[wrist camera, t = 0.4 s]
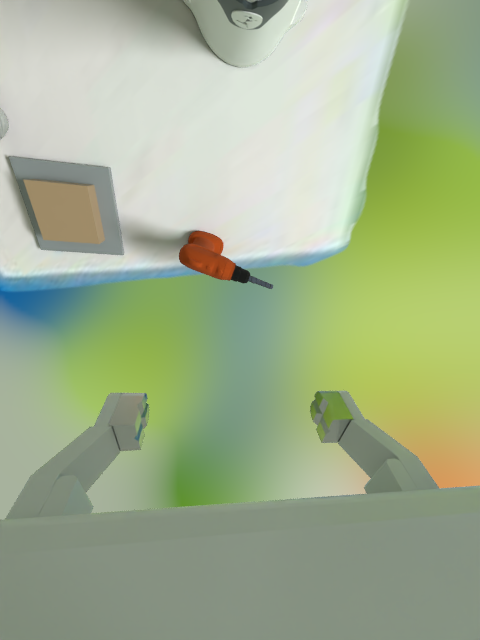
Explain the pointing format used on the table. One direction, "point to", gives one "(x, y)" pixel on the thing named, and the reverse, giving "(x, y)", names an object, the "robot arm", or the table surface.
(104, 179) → the baseplate
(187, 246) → the toy drill
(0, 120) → the grey lumpy sculpture
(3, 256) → the table surface
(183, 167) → the table surface
